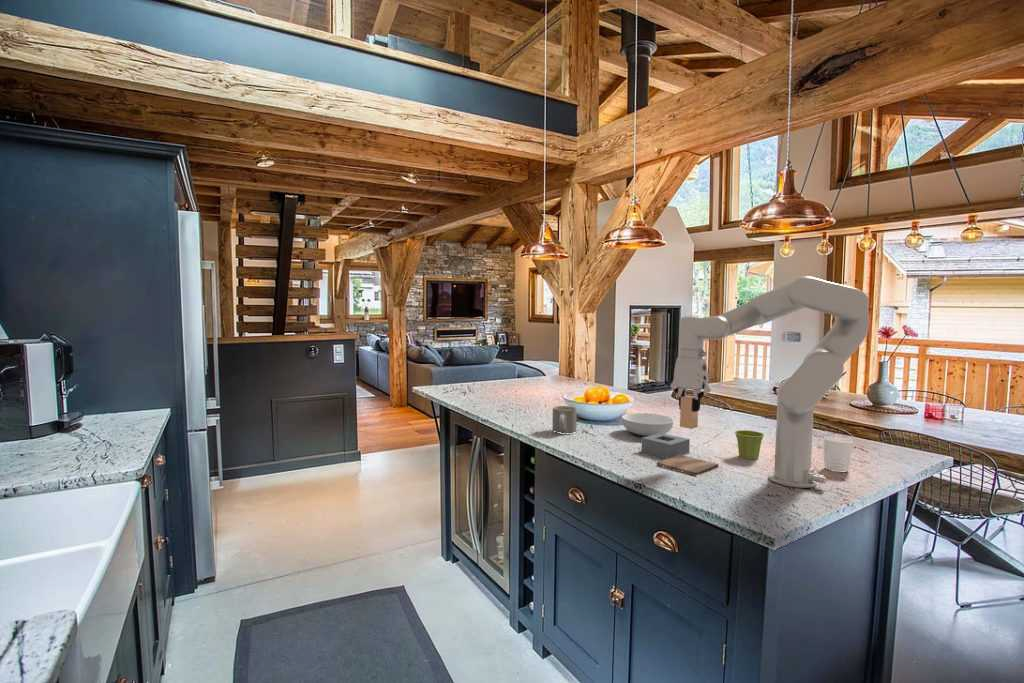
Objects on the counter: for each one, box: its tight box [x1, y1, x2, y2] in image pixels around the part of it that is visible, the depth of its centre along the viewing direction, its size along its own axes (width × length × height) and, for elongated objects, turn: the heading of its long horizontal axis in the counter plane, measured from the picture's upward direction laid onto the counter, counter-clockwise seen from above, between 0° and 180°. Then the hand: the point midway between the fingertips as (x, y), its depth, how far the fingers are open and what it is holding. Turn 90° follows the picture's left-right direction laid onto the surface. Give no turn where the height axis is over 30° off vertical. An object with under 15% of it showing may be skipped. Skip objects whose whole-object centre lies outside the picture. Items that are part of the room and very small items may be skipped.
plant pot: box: [734, 429, 765, 460], centre depth 177 cm, size 9×9×9 cm
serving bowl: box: [621, 412, 675, 437], centre depth 209 cm, size 21×21×7 cm
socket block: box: [641, 433, 691, 459], centre depth 182 cm, size 12×12×5 cm
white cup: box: [823, 435, 853, 471], centre depth 164 cm, size 8×8×10 cm
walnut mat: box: [656, 455, 719, 476], centre depth 166 cm, size 14×14×1 cm
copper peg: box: [679, 394, 699, 430], centre depth 165 cm, size 4×4×10 cm
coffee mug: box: [552, 405, 577, 433], centre depth 211 cm, size 13×10×10 cm
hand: (689, 409), depth 165 cm, fingers closed on copper peg, 4 cm apart
